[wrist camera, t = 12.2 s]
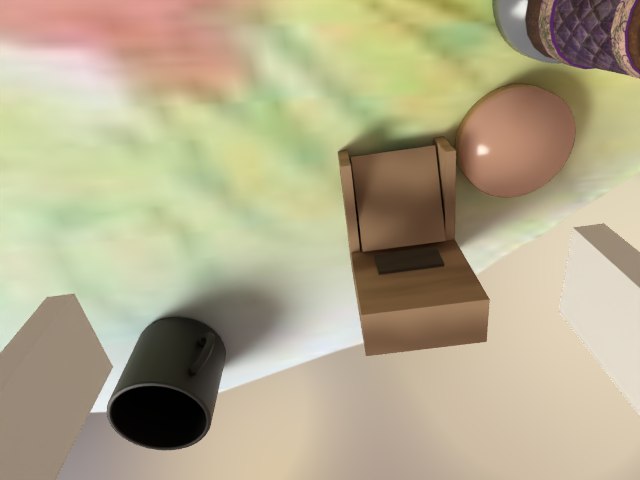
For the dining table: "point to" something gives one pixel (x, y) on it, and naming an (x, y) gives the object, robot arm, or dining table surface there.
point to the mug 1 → (169, 385)
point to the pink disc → (515, 140)
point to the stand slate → (516, 27)
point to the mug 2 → (587, 33)
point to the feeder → (410, 251)
